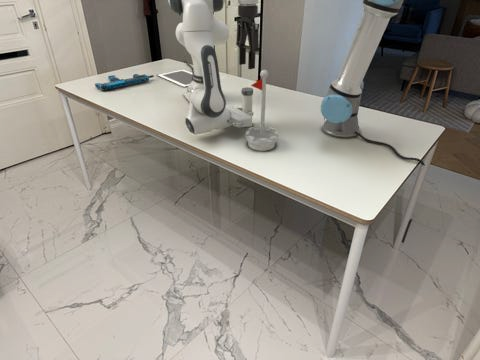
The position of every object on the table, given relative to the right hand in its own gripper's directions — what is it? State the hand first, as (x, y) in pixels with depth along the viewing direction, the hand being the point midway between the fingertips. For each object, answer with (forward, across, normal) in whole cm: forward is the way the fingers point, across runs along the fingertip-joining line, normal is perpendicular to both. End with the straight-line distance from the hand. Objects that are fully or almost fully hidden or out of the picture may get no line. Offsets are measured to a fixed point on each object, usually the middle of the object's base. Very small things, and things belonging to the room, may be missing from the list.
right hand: (246, 66), depth 141 cm
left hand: (+20, 0, -1) cm, 20 cm away
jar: (+26, 0, 0) cm, 26 cm away
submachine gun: (+27, +91, +35) cm, 102 cm away
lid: (+10, 0, 0) cm, 10 cm away
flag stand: (+26, -20, +4) cm, 34 cm away
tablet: (+27, +82, 0) cm, 87 cm away
